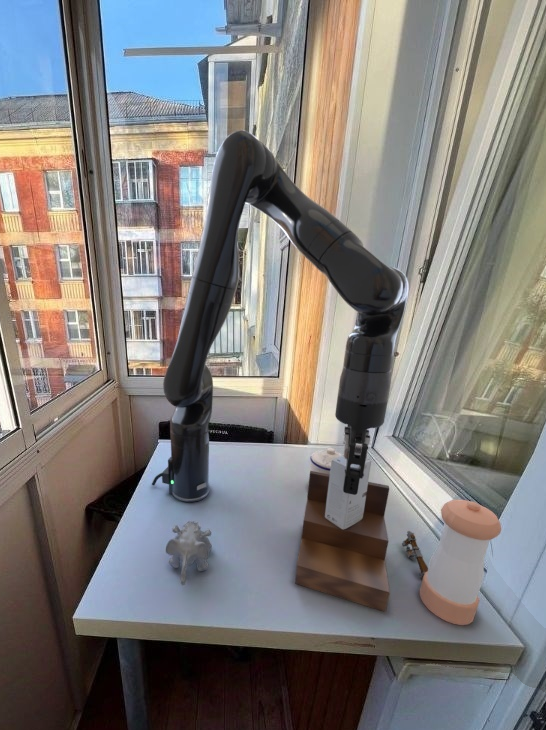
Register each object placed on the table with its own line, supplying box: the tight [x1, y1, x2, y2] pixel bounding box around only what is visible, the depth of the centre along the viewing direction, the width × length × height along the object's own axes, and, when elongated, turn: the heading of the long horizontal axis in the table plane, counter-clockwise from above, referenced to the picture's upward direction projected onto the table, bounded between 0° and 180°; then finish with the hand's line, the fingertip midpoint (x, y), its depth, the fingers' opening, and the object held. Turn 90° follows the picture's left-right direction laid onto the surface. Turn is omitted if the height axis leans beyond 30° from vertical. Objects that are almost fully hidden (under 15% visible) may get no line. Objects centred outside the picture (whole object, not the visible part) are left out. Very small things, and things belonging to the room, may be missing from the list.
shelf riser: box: [294, 470, 391, 612], centre depth 60 cm, size 14×15×14 cm
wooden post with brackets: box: [401, 530, 429, 579], centre depth 62 cm, size 2×8×4 cm, turn 177°
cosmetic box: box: [325, 454, 372, 530], centre depth 60 cm, size 6×4×12 cm
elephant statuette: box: [165, 520, 213, 586], centre depth 60 cm, size 9×12×8 cm
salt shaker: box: [419, 499, 502, 626], centre depth 51 cm, size 7×7×19 cm
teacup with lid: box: [307, 447, 343, 486], centre depth 82 cm, size 12×9×12 cm
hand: (349, 480), depth 60 cm, fingers open, 7 cm apart
